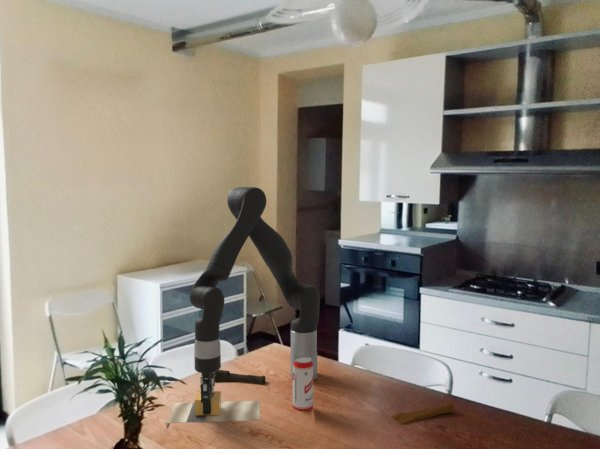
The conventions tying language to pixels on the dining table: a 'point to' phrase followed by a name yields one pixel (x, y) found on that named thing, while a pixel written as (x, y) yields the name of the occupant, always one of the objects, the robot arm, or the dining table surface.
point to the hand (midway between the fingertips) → (208, 408)
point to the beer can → (303, 383)
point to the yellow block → (214, 403)
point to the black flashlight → (237, 378)
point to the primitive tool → (423, 413)
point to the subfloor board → (227, 413)
